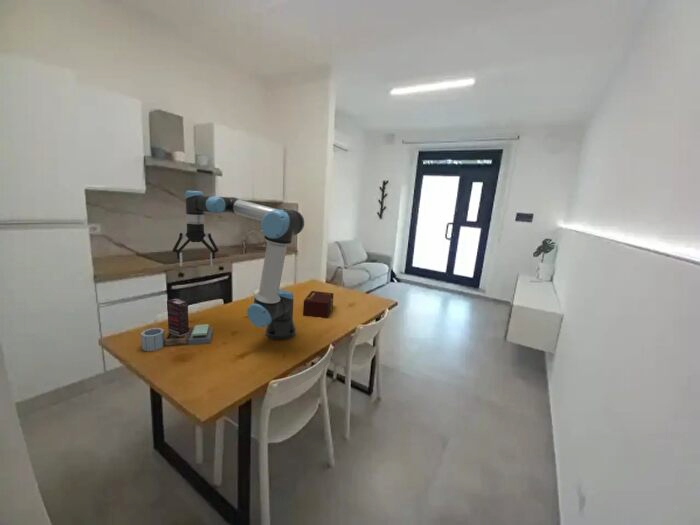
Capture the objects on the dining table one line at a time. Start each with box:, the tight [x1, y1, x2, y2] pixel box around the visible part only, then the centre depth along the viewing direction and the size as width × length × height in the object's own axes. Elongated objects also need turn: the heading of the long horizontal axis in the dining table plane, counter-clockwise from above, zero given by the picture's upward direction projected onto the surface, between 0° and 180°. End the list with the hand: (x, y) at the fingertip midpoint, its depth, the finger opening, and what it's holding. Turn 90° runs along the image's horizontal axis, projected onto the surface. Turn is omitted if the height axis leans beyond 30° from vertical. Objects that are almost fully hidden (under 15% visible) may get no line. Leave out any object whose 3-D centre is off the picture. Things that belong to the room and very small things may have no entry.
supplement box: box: [166, 298, 190, 337], centre depth 140 cm, size 9×5×16 cm, turn 64°
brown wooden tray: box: [163, 326, 194, 348], centre depth 141 cm, size 10×14×3 cm
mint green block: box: [192, 323, 210, 336], centre depth 143 cm, size 6×10×4 cm, turn 19°
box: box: [302, 290, 334, 319], centre depth 190 cm, size 21×16×10 cm
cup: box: [140, 327, 165, 352], centre depth 132 cm, size 8×8×7 cm
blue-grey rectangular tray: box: [187, 327, 214, 346], centre depth 144 cm, size 9×12×2 cm
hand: (196, 265), depth 150 cm, fingers open, 13 cm apart
